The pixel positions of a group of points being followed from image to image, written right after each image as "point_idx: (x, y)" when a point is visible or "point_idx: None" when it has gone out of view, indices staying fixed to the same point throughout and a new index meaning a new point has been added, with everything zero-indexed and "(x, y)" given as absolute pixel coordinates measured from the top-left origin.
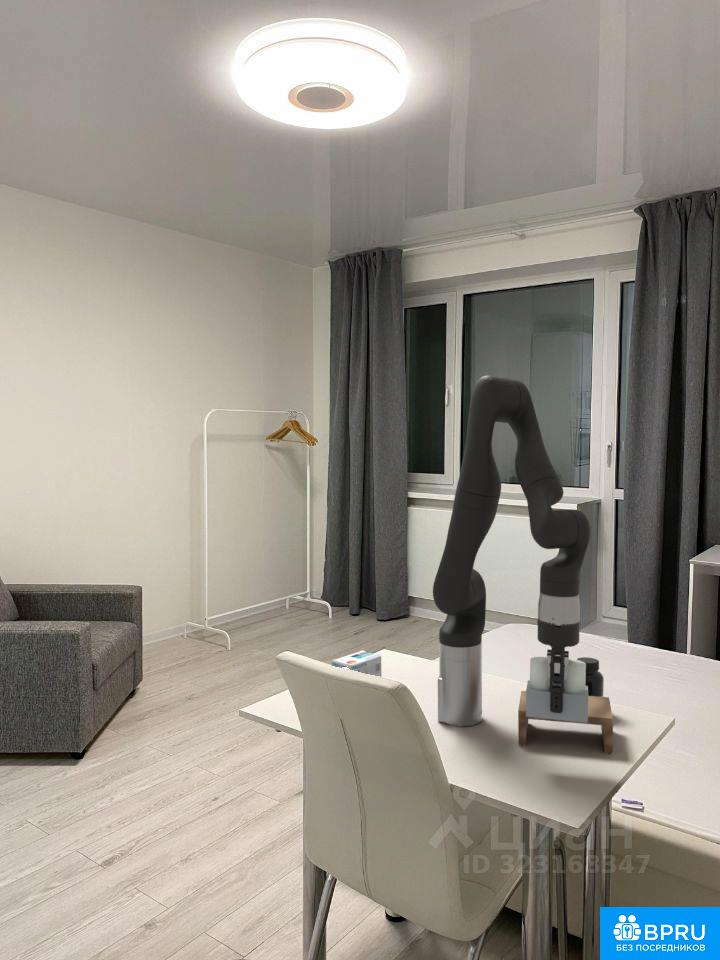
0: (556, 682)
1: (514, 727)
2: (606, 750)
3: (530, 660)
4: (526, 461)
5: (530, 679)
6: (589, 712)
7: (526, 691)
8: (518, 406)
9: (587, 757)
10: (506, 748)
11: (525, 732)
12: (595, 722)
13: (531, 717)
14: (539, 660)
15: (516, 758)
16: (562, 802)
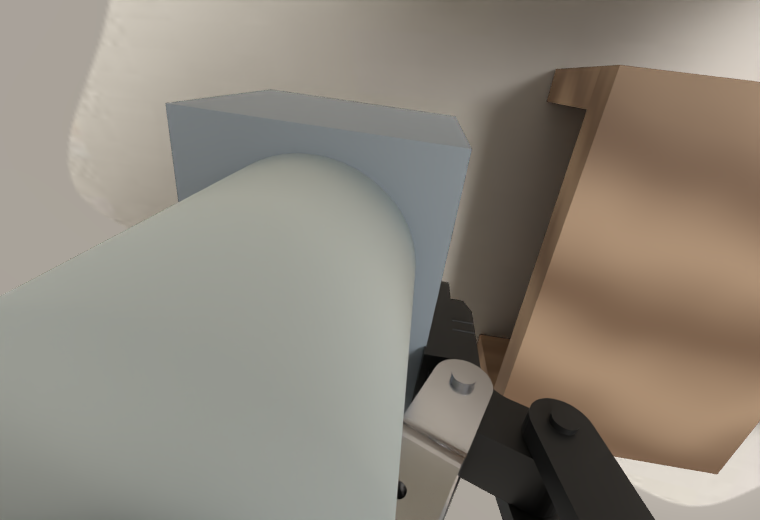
0: (417, 380)
1: (755, 62)
2: (479, 343)
3: (40, 301)
4: None
5: (235, 174)
6: (557, 383)
7: (173, 104)
8: None
9: (449, 287)
10: (524, 12)
11: (563, 102)
12: (500, 376)
13: (579, 139)
14: (118, 469)
15: (429, 53)
16: (161, 176)
